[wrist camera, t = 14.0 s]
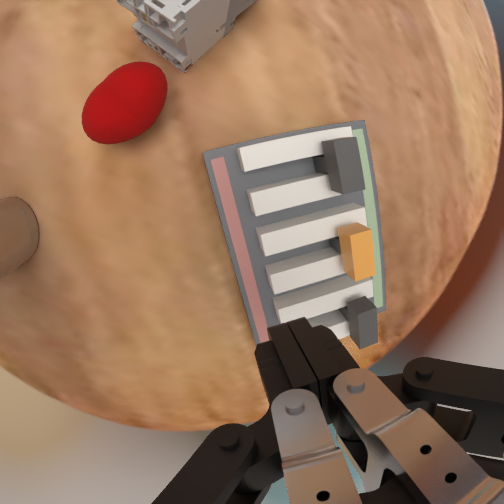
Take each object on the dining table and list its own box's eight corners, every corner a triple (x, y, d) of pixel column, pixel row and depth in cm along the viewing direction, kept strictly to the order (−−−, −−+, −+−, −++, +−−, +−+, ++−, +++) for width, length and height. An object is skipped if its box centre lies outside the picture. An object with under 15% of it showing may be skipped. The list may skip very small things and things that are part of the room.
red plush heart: (151, 65, 30) (133, 37, 20) (188, 105, 32) (181, 87, 23) (92, 119, 31) (56, 110, 21) (128, 159, 33) (101, 163, 24)
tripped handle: (330, 258, 37) (355, 281, 30) (324, 219, 35) (349, 235, 29) (348, 253, 37) (375, 275, 30) (342, 214, 35) (371, 229, 29)
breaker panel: (255, 340, 43) (268, 389, 33) (203, 152, 34) (201, 152, 24) (376, 300, 44) (413, 336, 34) (353, 121, 35) (398, 115, 25)
